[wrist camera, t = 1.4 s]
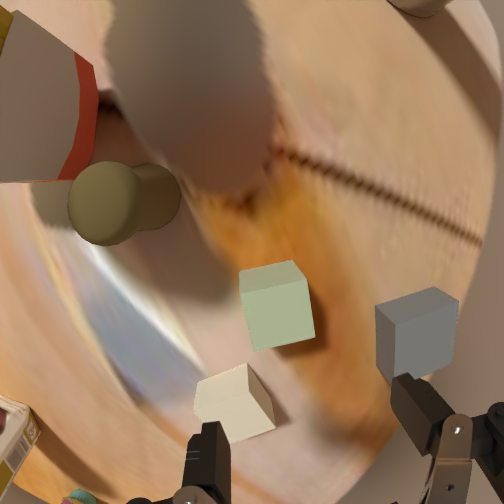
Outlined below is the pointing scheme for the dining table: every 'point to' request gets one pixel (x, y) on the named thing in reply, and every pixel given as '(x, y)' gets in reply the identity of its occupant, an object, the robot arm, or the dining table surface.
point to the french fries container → (43, 104)
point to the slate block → (415, 333)
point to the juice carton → (14, 439)
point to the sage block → (276, 305)
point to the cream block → (235, 403)
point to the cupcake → (79, 498)
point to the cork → (121, 201)
